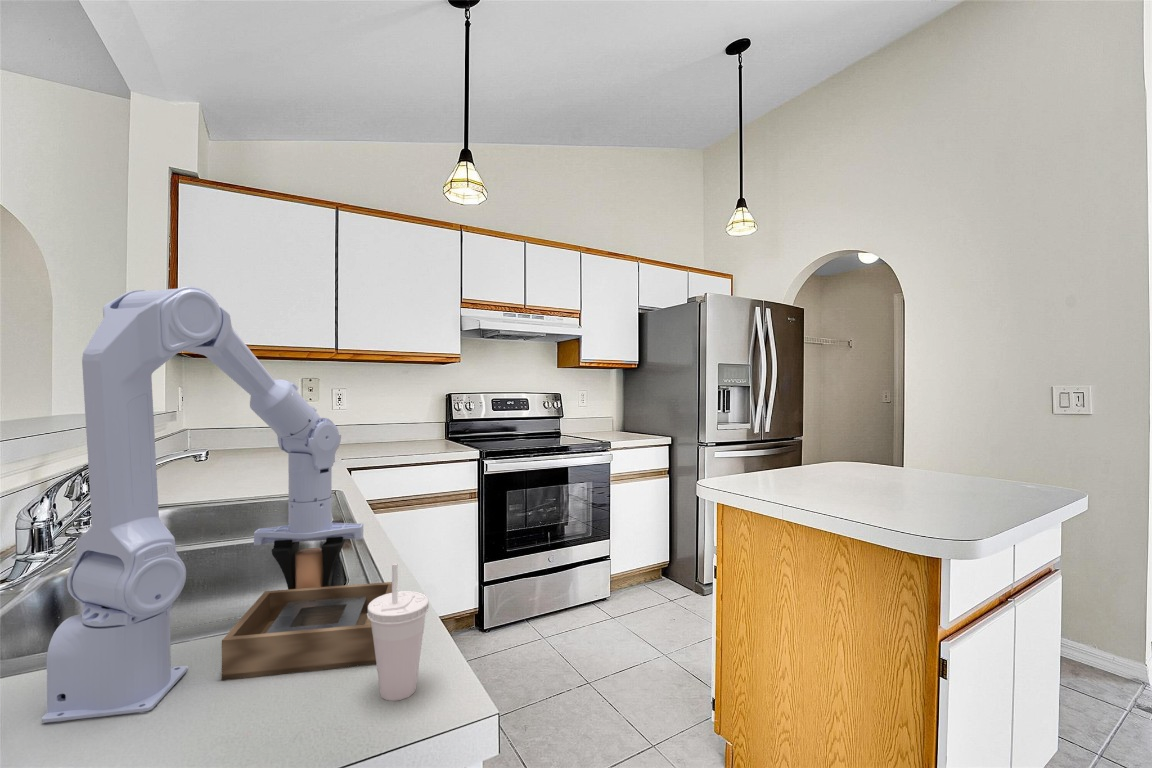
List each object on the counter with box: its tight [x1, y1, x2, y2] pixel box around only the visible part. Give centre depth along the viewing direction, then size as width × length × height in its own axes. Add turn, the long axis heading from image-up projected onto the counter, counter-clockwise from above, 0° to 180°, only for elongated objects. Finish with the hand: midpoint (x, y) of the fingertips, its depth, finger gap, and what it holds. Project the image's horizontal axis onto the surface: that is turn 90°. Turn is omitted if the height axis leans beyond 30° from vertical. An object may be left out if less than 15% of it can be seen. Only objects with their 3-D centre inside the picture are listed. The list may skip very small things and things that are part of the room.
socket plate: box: [266, 596, 367, 633], centre depth 69 cm, size 10×10×3 cm
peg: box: [295, 547, 323, 589], centre depth 80 cm, size 4×4×8 cm
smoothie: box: [367, 562, 430, 702], centre depth 58 cm, size 6×6×14 cm
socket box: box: [221, 581, 392, 681], centre depth 69 cm, size 17×14×4 cm
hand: (310, 589), depth 80 cm, fingers closed on peg, 4 cm apart
